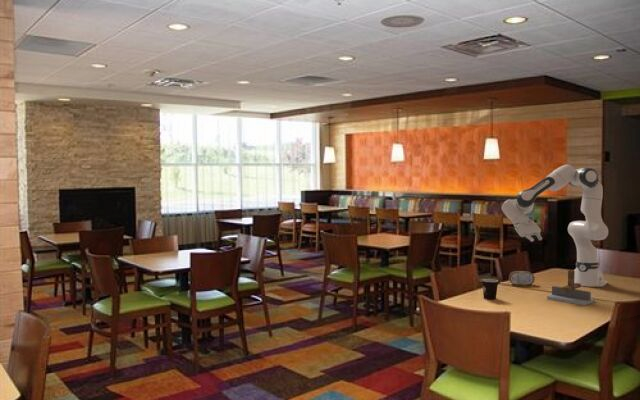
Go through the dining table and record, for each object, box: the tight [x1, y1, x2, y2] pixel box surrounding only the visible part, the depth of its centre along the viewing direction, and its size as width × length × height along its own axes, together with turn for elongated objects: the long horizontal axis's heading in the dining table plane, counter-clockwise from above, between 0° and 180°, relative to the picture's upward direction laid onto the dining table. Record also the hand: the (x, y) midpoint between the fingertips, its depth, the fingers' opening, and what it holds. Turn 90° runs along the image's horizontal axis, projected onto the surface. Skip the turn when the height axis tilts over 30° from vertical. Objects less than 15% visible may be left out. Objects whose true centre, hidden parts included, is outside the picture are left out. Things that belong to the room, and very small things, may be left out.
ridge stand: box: [546, 285, 596, 306], centre depth 288 cm, size 13×20×6 cm, turn 40°
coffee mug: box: [481, 278, 499, 301], centre depth 294 cm, size 12×9×10 cm
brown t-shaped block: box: [560, 269, 582, 292], centre depth 287 cm, size 18×2×10 cm, turn 130°
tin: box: [508, 270, 535, 286], centre depth 328 cm, size 15×3×8 cm, turn 84°
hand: (536, 240), depth 313 cm, fingers open, 8 cm apart
